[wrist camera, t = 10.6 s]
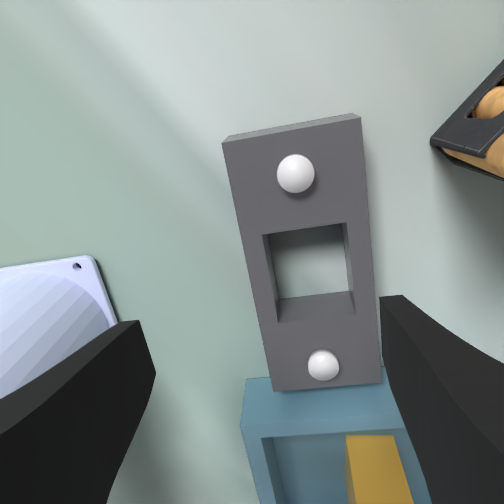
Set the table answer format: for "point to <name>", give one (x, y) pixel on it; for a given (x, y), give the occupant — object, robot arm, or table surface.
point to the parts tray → (318, 439)
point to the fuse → (374, 471)
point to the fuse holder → (299, 217)
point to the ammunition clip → (477, 129)
